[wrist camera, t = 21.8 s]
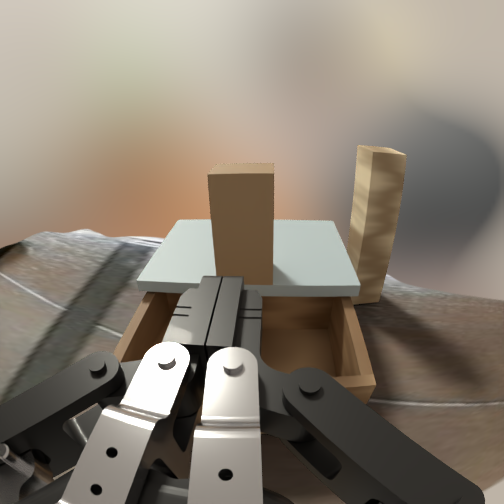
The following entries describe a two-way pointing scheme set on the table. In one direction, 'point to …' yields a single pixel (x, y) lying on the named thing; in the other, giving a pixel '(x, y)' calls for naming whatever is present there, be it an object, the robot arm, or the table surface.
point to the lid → (251, 244)
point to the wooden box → (276, 336)
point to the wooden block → (374, 217)
